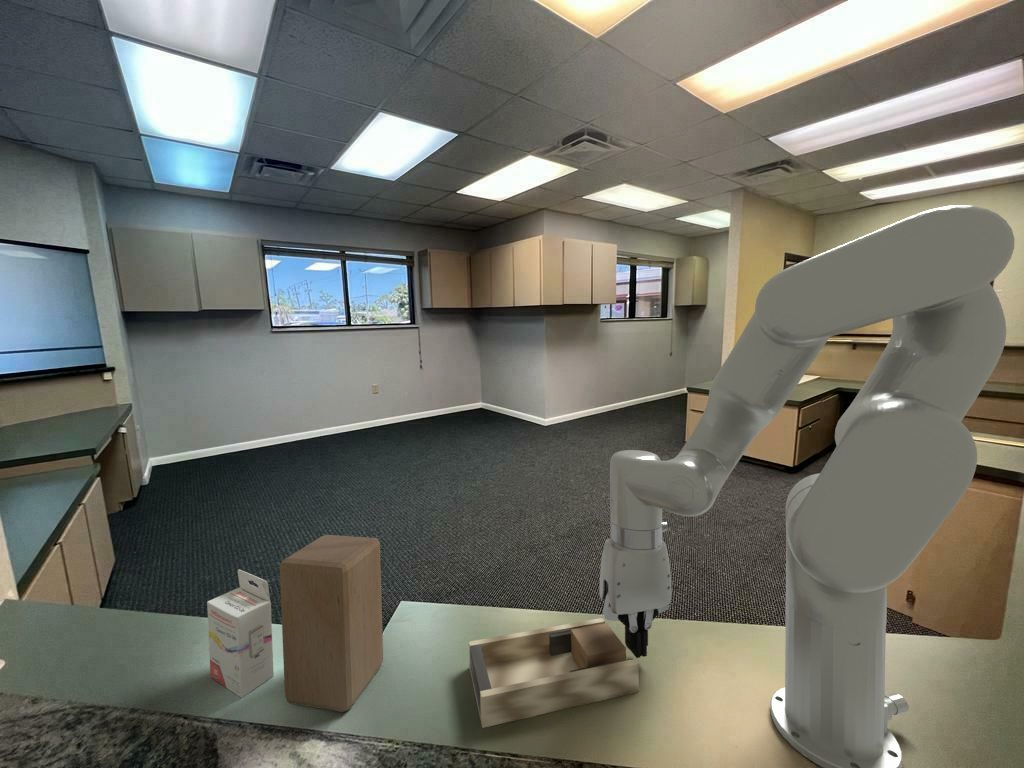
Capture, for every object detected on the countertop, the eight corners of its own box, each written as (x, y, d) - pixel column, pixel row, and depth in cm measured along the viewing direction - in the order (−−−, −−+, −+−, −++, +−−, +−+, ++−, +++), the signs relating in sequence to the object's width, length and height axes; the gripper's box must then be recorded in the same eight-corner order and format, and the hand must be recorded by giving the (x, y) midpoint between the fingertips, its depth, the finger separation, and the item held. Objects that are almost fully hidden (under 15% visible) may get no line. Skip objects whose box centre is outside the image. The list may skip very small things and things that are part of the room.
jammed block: (606, 647, 66) (606, 623, 65) (626, 674, 60) (625, 647, 60) (571, 654, 64) (571, 629, 64) (587, 683, 58) (587, 655, 58)
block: (348, 716, 54) (342, 566, 53) (281, 705, 56) (275, 560, 55) (386, 663, 64) (382, 535, 63) (328, 655, 66) (324, 531, 65)
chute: (602, 641, 68) (602, 617, 68) (638, 691, 57) (638, 663, 57) (469, 667, 63) (468, 641, 63) (482, 728, 52) (481, 697, 52)
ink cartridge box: (207, 678, 61) (203, 581, 61) (242, 658, 66) (239, 567, 65) (240, 700, 57) (236, 595, 57) (275, 676, 62) (271, 579, 61)
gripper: (664, 519, 68) (664, 628, 69) (580, 529, 65) (581, 644, 65) (695, 537, 61) (694, 658, 62) (601, 549, 57) (602, 678, 58)
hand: (636, 650), depth 64 cm, fingers closed
